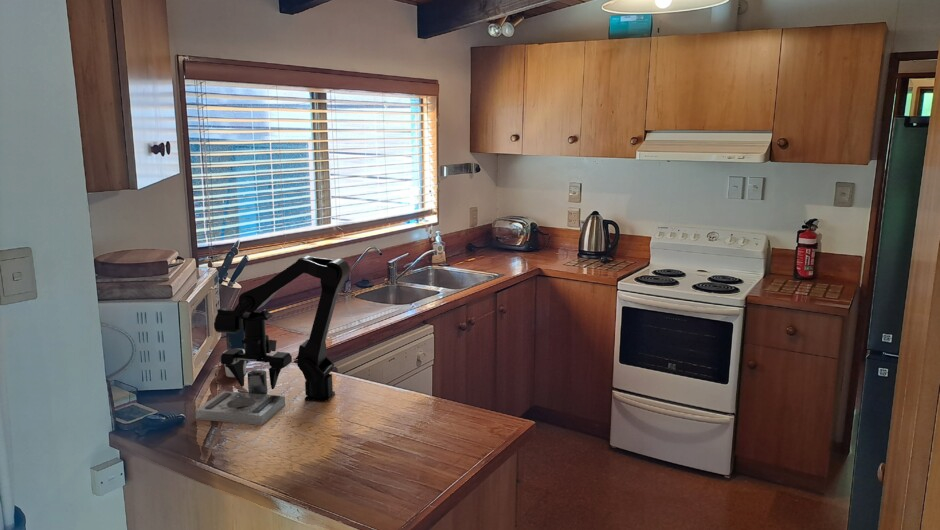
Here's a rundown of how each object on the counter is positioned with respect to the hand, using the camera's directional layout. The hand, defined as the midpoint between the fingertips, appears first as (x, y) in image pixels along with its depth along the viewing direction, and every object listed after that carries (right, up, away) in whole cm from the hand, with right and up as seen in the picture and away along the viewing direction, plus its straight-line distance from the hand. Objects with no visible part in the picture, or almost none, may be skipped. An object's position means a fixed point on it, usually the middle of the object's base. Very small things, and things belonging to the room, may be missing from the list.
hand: (257, 387), depth 189 cm
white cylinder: (-11, +1, +15) cm, 19 cm away
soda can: (-14, +3, +27) cm, 31 cm away
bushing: (0, -2, 0) cm, 2 cm away
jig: (0, -4, -12) cm, 13 cm away
